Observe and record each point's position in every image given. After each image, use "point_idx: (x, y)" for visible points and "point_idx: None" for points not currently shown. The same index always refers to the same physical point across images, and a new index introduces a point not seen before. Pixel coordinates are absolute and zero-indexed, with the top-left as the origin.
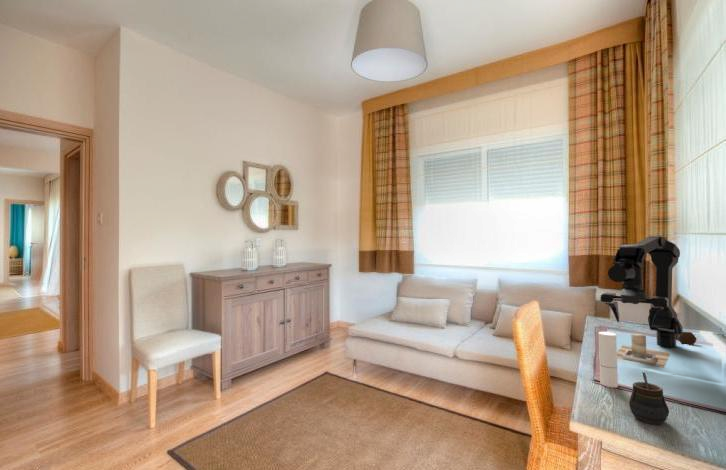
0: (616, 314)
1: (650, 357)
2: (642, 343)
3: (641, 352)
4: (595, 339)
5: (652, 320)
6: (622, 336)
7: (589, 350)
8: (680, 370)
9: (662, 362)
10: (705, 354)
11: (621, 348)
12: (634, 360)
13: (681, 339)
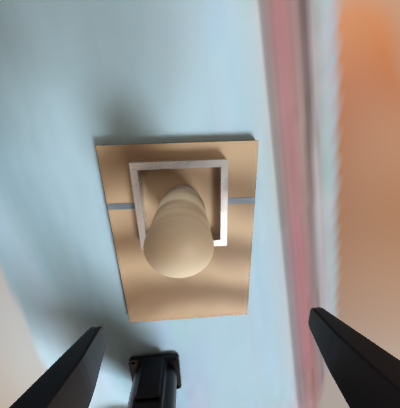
0: (387, 370)
1: None
2: (159, 209)
3: (169, 193)
4: None
5: (45, 378)
6: (260, 393)
7: (329, 204)
8: (64, 180)
9: (116, 204)
10: None
11: (246, 275)
12: (188, 159)
13: None
